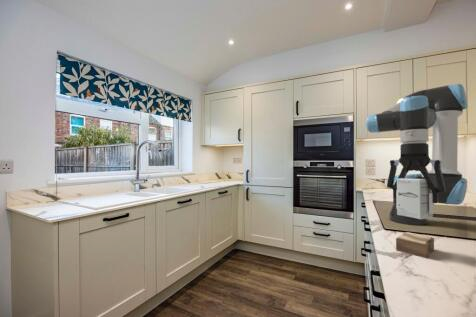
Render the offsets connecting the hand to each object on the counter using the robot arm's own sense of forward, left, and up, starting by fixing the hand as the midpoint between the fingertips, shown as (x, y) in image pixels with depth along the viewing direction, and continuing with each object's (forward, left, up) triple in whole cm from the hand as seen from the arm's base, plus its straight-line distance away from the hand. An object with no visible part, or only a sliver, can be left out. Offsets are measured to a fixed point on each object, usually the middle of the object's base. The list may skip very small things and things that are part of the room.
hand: (414, 210), depth 77 cm
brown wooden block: (0, 0, -13) cm, 13 cm away
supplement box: (0, 0, -2) cm, 2 cm away
